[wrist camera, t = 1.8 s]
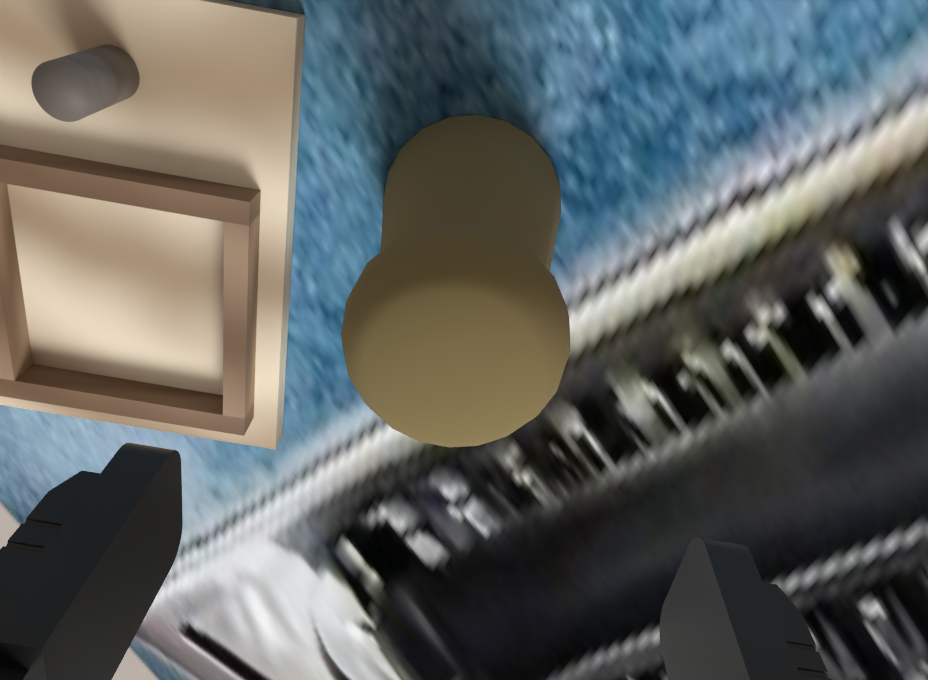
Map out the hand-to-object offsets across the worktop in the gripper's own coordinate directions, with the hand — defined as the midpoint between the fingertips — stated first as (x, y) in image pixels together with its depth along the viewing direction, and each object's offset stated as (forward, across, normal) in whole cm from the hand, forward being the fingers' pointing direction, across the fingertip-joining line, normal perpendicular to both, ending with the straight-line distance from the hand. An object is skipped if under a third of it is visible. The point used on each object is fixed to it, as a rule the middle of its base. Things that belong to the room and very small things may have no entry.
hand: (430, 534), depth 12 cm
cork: (+16, 0, 0) cm, 16 cm away
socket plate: (+15, +12, +3) cm, 19 cm away
